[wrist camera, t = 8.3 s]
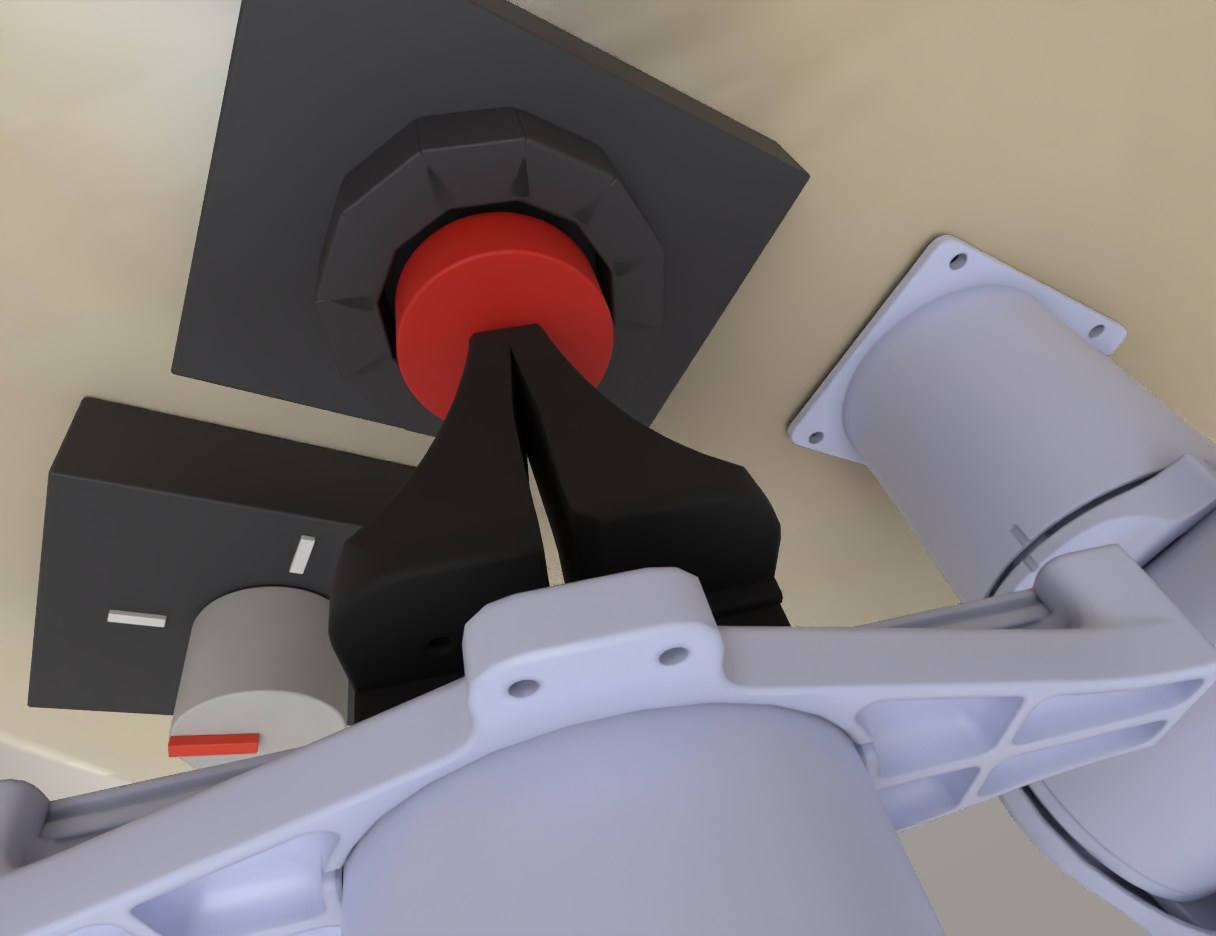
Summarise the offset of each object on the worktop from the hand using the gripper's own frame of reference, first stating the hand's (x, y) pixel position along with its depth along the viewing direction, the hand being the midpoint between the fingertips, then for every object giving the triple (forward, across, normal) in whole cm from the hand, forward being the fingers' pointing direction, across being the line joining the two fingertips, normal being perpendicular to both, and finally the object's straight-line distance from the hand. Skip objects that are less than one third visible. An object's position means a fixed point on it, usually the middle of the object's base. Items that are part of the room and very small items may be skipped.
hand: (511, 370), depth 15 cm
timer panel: (+6, +8, +10) cm, 15 cm away
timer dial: (+3, +8, +10) cm, 14 cm away
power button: (+2, 0, 0) cm, 2 cm away
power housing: (+6, 0, 0) cm, 6 cm away
